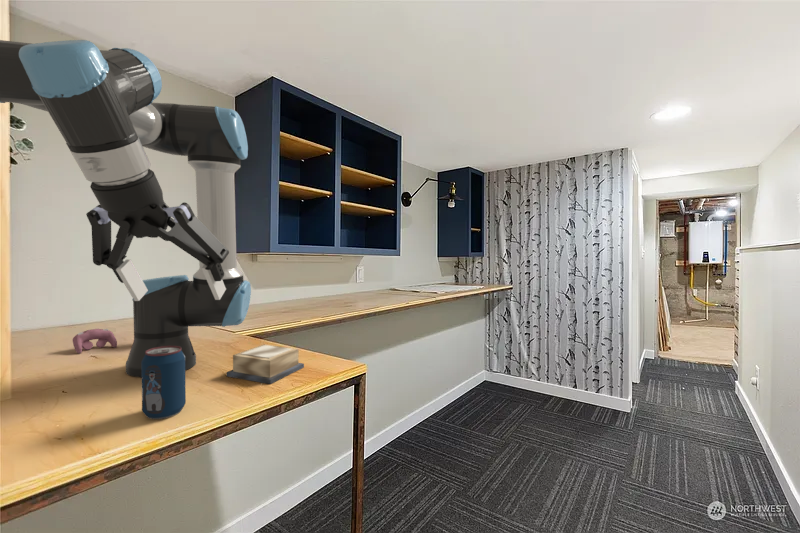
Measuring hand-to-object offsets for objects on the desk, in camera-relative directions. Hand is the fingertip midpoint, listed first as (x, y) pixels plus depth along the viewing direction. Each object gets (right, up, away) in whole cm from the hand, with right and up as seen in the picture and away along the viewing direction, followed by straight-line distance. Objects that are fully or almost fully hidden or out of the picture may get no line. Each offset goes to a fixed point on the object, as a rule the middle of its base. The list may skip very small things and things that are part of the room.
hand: (181, 295), depth 63 cm
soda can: (-8, -23, +8) cm, 25 cm away
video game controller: (-53, -20, +48) cm, 74 cm away
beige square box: (+3, -22, +31) cm, 38 cm away
